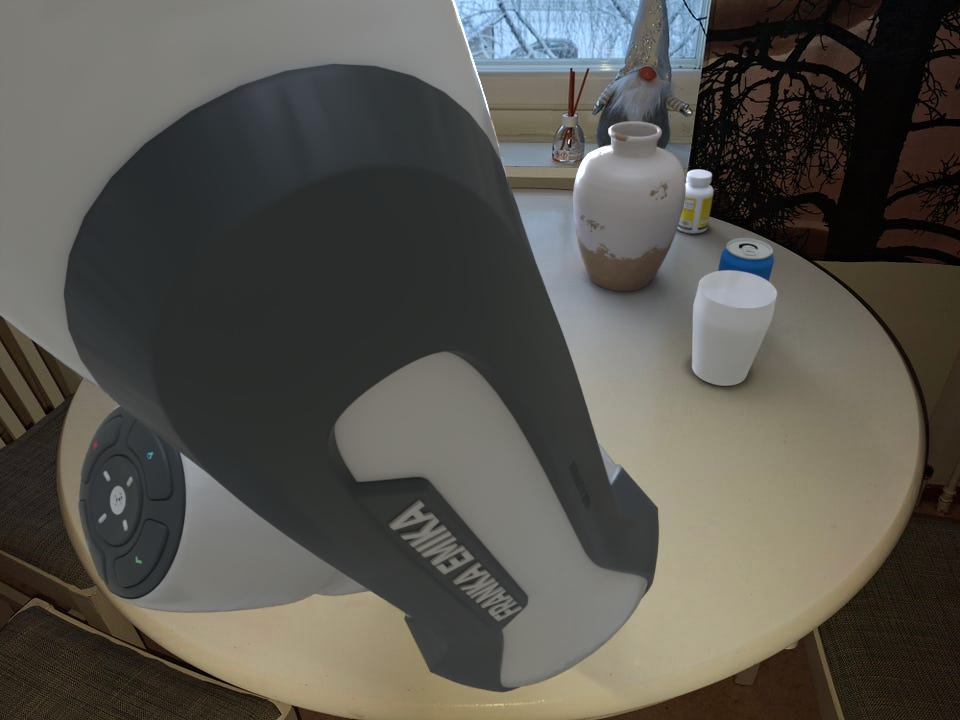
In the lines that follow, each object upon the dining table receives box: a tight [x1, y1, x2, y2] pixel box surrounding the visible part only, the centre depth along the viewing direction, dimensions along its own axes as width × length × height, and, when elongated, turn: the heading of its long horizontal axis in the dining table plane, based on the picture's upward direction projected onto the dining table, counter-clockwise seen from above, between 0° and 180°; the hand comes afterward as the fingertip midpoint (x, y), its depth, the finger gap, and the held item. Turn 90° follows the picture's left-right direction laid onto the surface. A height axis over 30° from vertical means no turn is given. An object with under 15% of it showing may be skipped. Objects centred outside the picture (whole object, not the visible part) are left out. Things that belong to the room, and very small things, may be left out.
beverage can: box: [717, 237, 775, 282], centre depth 90 cm, size 6×6×12 cm
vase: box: [572, 120, 687, 292], centre depth 99 cm, size 16×16×23 cm
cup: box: [691, 270, 778, 387], centre depth 82 cm, size 9×9×12 cm
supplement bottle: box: [677, 169, 714, 234], centre depth 116 cm, size 5×5×10 cm
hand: (475, 511), depth 50 cm, fingers open, 8 cm apart
